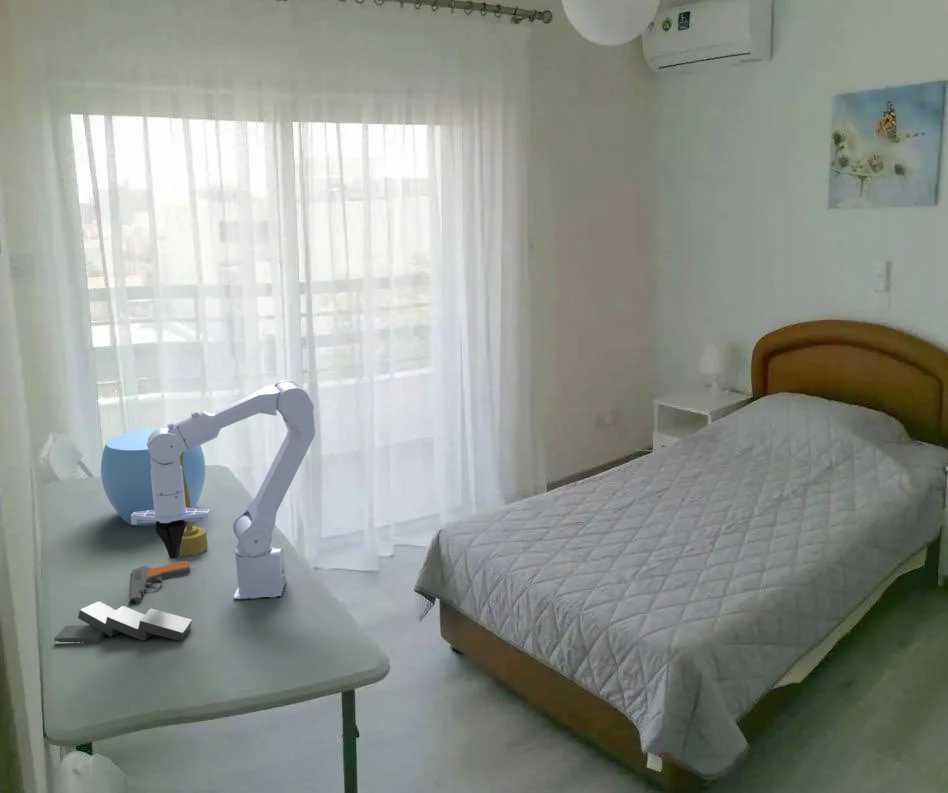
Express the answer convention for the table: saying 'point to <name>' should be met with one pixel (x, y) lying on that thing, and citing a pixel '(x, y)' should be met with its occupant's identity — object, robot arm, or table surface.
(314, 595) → the table surface
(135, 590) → the handgun
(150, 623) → the domino
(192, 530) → the sculpture
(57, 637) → the domino end
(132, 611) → the domino
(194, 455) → the planter
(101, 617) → the domino
